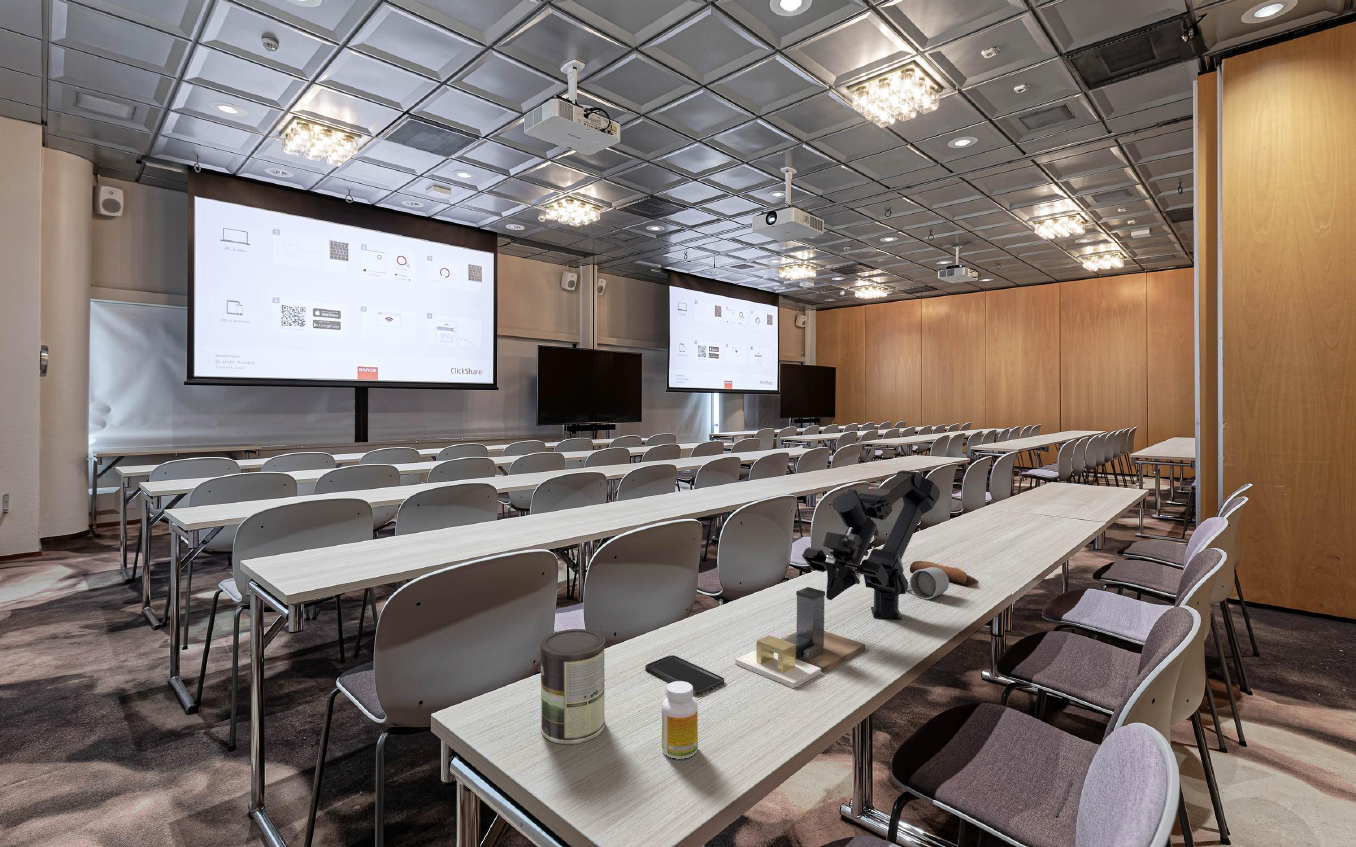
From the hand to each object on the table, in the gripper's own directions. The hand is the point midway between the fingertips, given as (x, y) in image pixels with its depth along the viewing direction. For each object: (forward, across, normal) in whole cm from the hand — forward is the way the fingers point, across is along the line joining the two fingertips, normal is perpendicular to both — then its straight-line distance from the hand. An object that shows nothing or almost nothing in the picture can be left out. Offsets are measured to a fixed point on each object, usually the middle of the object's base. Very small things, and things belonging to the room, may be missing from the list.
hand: (828, 598), depth 132 cm
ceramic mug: (-26, 0, +40) cm, 48 cm away
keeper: (+20, 0, -6) cm, 21 cm away
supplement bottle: (+43, +7, -28) cm, 52 cm away
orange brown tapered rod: (-40, -3, +54) cm, 68 cm away
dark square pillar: (+13, 0, -1) cm, 13 cm away
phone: (+31, -10, -16) cm, 36 cm away
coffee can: (+48, -10, -34) cm, 60 cm away
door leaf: (+10, 0, +4) cm, 11 cm away
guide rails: (+14, 0, 0) cm, 14 cm away
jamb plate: (+19, 0, -6) cm, 20 cm away
